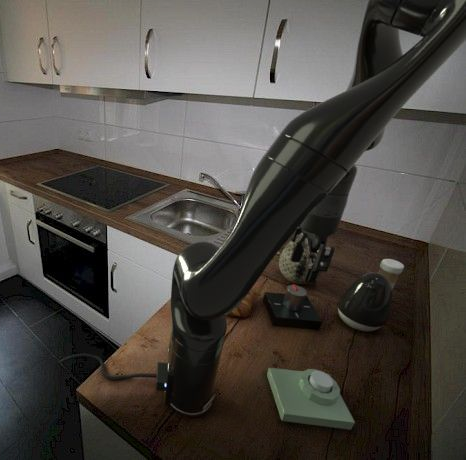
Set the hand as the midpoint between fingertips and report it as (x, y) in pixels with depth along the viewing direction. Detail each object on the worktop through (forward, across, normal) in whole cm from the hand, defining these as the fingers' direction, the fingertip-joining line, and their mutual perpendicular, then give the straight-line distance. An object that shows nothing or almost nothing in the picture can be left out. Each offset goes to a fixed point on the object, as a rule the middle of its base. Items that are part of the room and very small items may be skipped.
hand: (301, 270), depth 76 cm
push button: (+11, -23, +2) cm, 26 cm away
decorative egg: (+15, +17, -9) cm, 24 cm away
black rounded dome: (+15, 0, -17) cm, 23 cm away
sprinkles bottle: (+14, +8, -26) cm, 31 cm away
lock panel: (+15, +1, -1) cm, 15 cm away
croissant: (+15, +3, +13) cm, 20 cm away
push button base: (+15, -24, +4) cm, 28 cm away
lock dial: (+12, +1, -1) cm, 12 cm away
